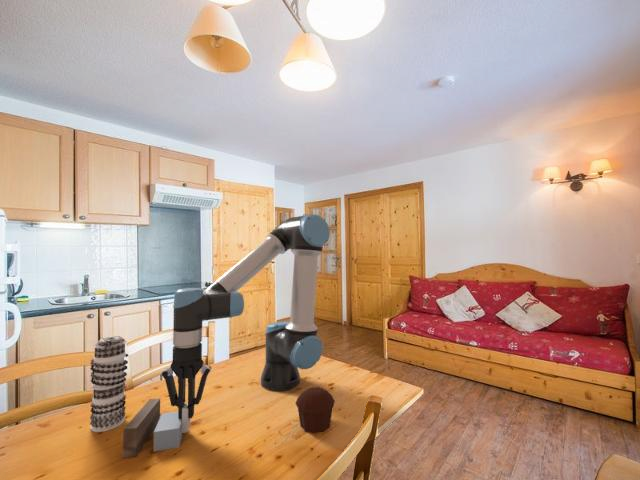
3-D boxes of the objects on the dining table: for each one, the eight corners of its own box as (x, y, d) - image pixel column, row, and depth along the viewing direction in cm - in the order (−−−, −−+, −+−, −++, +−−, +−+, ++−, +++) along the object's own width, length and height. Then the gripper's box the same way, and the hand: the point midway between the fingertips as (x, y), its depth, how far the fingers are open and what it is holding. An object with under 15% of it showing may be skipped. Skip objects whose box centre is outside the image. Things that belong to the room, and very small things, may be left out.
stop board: (159, 422, 88) (160, 398, 89) (135, 456, 74) (136, 428, 74) (149, 423, 88) (149, 399, 88) (122, 457, 73) (123, 428, 73)
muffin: (321, 410, 95) (321, 378, 96) (342, 427, 86) (342, 392, 86) (288, 421, 89) (288, 387, 89) (307, 441, 79) (307, 403, 80)
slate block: (184, 427, 86) (184, 410, 86) (179, 447, 77) (179, 428, 77) (161, 431, 84) (161, 413, 84) (153, 452, 76) (153, 432, 76)
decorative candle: (93, 418, 90) (96, 336, 91) (129, 412, 94) (131, 332, 95) (83, 436, 82) (86, 344, 83) (123, 428, 85) (125, 340, 86)
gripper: (214, 339, 88) (213, 420, 87) (168, 340, 86) (166, 423, 85) (208, 347, 80) (207, 435, 79) (157, 349, 79) (155, 440, 78)
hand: (185, 429), depth 82 cm, fingers closed
